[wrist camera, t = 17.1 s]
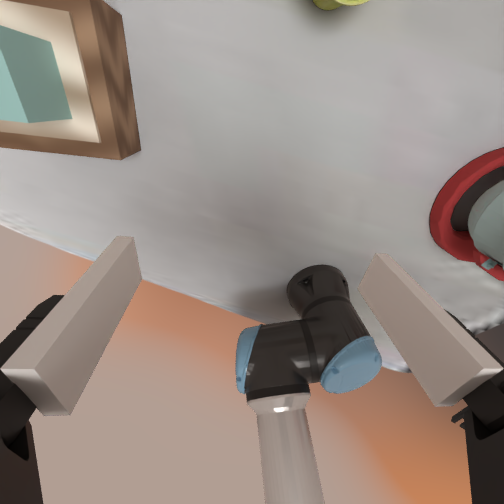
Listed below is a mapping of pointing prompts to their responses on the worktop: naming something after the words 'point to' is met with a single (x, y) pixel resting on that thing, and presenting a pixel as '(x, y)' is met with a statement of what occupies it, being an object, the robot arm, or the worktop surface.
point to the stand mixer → (473, 217)
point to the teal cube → (30, 80)
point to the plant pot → (337, 3)
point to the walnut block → (79, 79)
